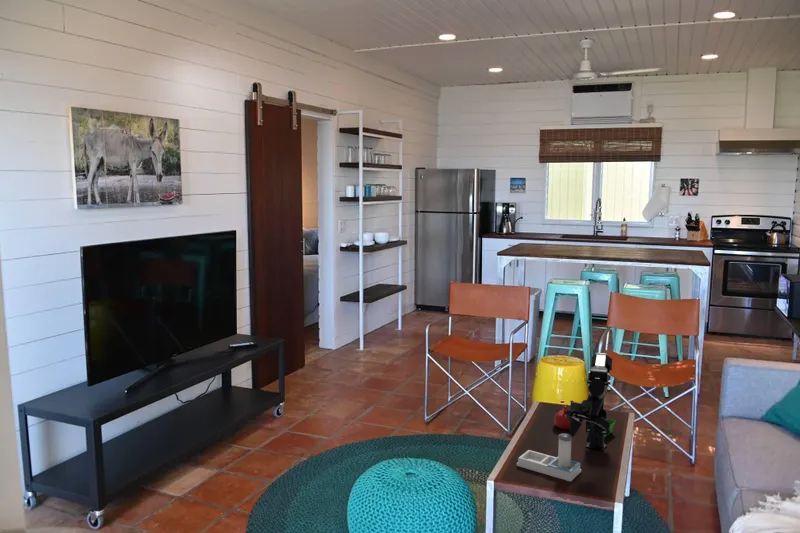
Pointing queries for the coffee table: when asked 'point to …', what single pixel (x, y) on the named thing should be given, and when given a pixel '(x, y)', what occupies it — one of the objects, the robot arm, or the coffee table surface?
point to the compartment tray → (548, 465)
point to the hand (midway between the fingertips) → (578, 439)
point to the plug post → (564, 451)
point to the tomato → (562, 419)
